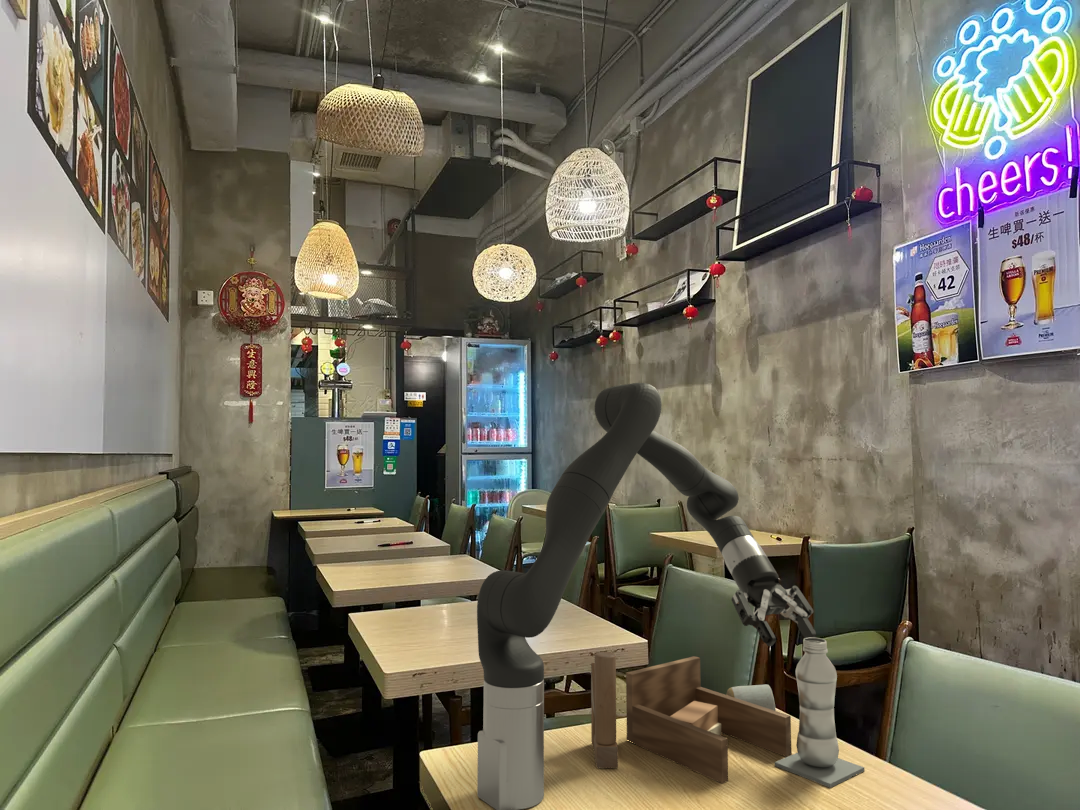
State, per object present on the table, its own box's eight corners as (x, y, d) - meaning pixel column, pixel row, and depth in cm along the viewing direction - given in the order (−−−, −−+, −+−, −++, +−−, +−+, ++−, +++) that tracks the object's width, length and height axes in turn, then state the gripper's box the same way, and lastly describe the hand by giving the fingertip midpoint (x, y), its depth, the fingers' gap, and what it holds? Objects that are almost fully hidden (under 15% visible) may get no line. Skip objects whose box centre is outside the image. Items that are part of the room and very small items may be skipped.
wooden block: (611, 743, 128) (610, 640, 129) (618, 769, 117) (617, 657, 118) (590, 743, 128) (590, 640, 129) (596, 769, 117) (595, 657, 118)
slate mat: (830, 787, 110) (830, 783, 110) (774, 765, 118) (774, 762, 118) (864, 771, 116) (864, 767, 116) (809, 751, 124) (809, 747, 124)
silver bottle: (788, 760, 119) (785, 637, 121) (818, 753, 122) (814, 633, 123) (817, 775, 113) (814, 646, 115) (848, 768, 116) (845, 642, 118)
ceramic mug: (725, 718, 140) (724, 678, 141) (767, 719, 140) (766, 679, 140) (736, 740, 129) (735, 697, 130) (782, 741, 129) (781, 698, 129)
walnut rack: (722, 783, 112) (720, 704, 113) (626, 740, 129) (626, 672, 130) (791, 754, 123) (789, 683, 124) (695, 718, 140) (694, 656, 141)
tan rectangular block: (690, 761, 120) (689, 725, 121) (662, 753, 124) (661, 717, 124) (722, 740, 129) (721, 706, 130) (695, 733, 133) (694, 700, 133)
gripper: (726, 555, 131) (769, 632, 119) (788, 551, 136) (835, 625, 124) (709, 580, 135) (749, 657, 124) (770, 575, 140) (814, 649, 129)
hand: (792, 641), depth 124 cm, fingers open, 8 cm apart
